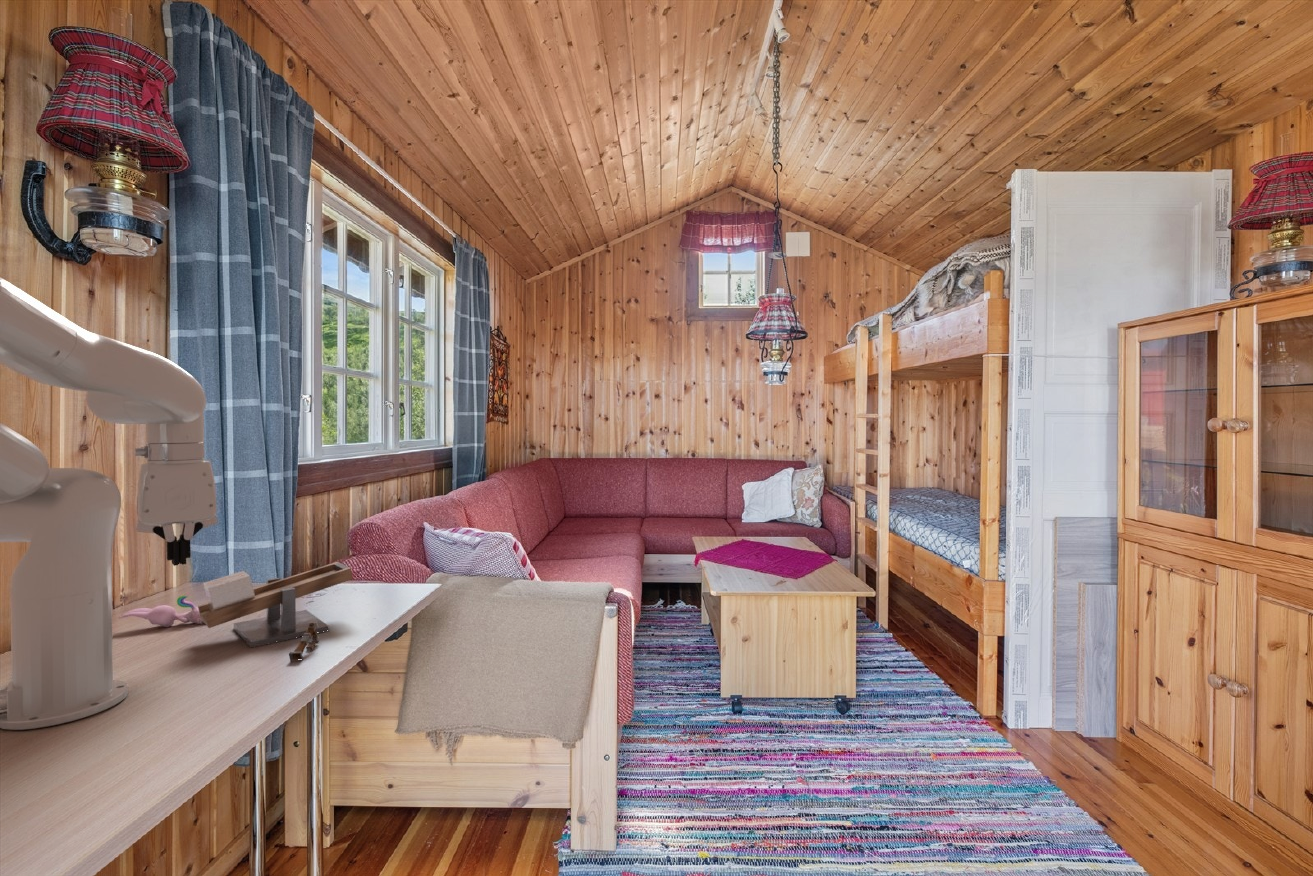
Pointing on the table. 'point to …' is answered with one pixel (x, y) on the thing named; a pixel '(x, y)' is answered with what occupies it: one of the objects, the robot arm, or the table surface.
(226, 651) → the table surface
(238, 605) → the balance beam
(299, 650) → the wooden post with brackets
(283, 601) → the pivot stand
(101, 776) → the table surface
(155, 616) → the pink animal figure
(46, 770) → the table surface
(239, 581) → the white block
